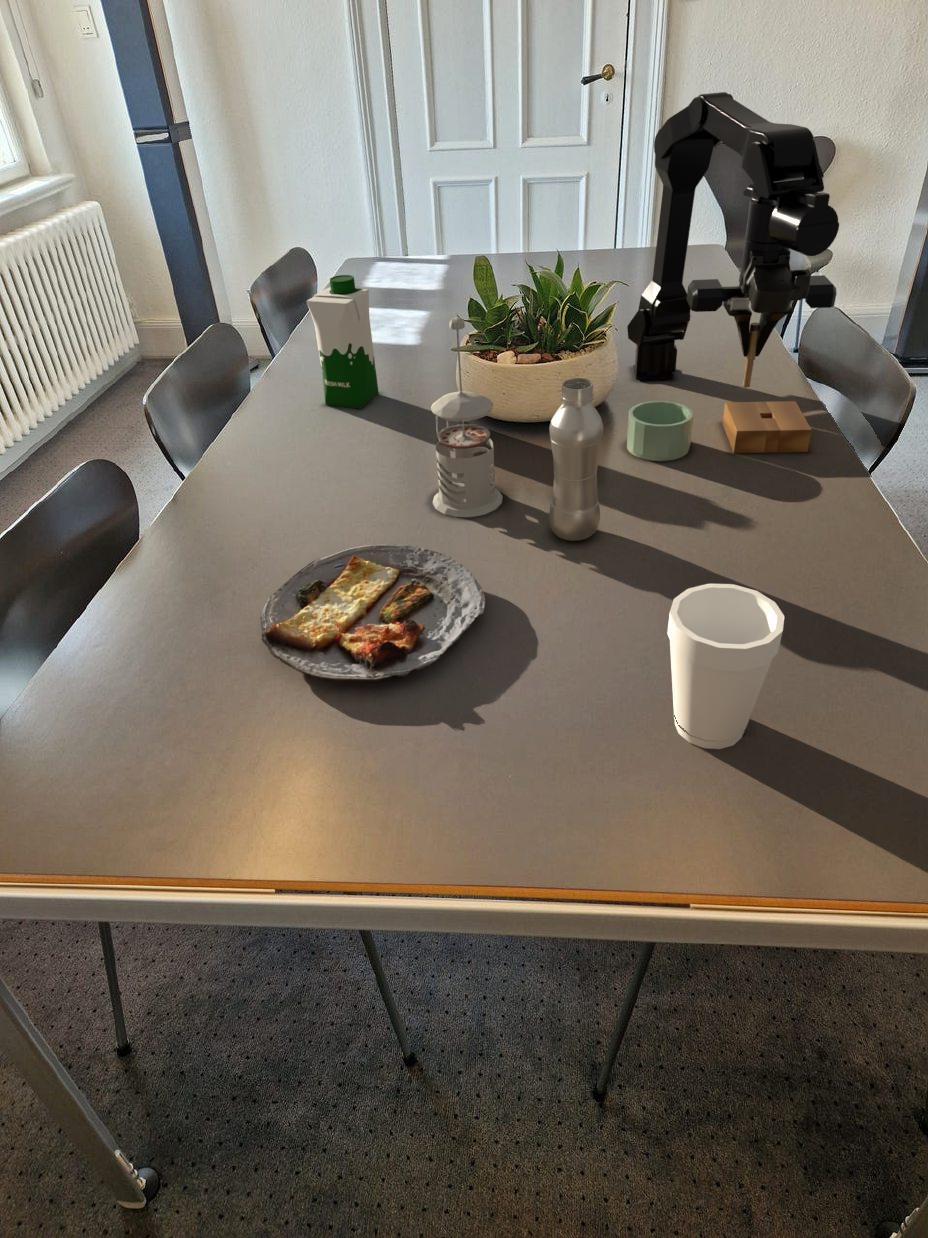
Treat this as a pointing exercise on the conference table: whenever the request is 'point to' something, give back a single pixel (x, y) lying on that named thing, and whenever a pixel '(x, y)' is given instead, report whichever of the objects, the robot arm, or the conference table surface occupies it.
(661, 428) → the cup
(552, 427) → the silver metal bottle
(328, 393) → the milk carton
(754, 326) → the tan brown rod
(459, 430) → the french press
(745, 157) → the robot arm
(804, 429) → the stand
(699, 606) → the foam cup
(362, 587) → the food plate
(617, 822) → the conference table surface
